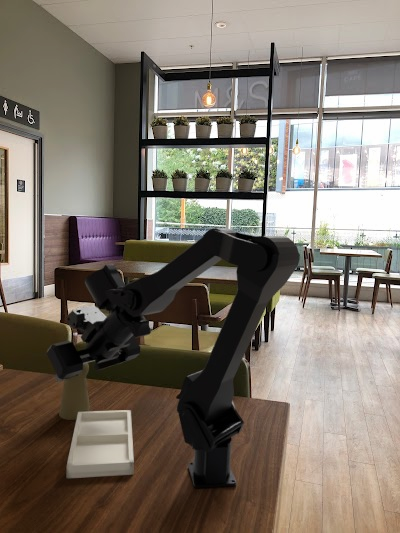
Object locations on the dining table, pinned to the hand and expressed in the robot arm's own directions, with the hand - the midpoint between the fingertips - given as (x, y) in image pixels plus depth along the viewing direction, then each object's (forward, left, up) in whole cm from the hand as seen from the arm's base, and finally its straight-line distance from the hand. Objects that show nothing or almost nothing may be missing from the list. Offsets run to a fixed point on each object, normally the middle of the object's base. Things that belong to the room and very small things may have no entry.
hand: (76, 373), depth 89 cm
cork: (0, 0, -8) cm, 8 cm away
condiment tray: (-13, -6, -8) cm, 17 cm away
